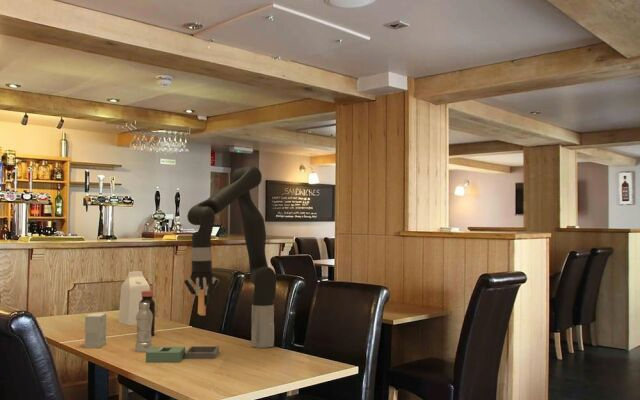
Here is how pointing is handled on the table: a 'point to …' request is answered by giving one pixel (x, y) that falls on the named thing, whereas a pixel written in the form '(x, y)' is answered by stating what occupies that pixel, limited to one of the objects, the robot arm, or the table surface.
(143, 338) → the plastic bottle
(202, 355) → the tray
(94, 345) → the small box
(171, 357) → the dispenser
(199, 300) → the tan wooden plank
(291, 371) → the table surface
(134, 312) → the milk
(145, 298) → the vinegar
